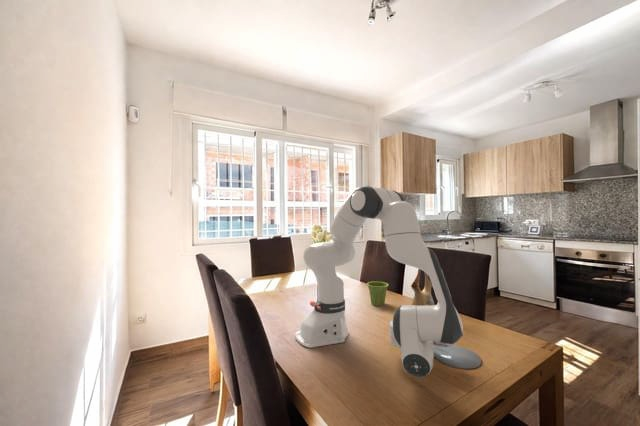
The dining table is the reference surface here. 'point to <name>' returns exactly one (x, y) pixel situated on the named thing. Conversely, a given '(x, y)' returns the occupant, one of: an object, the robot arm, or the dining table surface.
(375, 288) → the plant pot
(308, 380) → the dining table surface
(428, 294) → the ceramic vessel
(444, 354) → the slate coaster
